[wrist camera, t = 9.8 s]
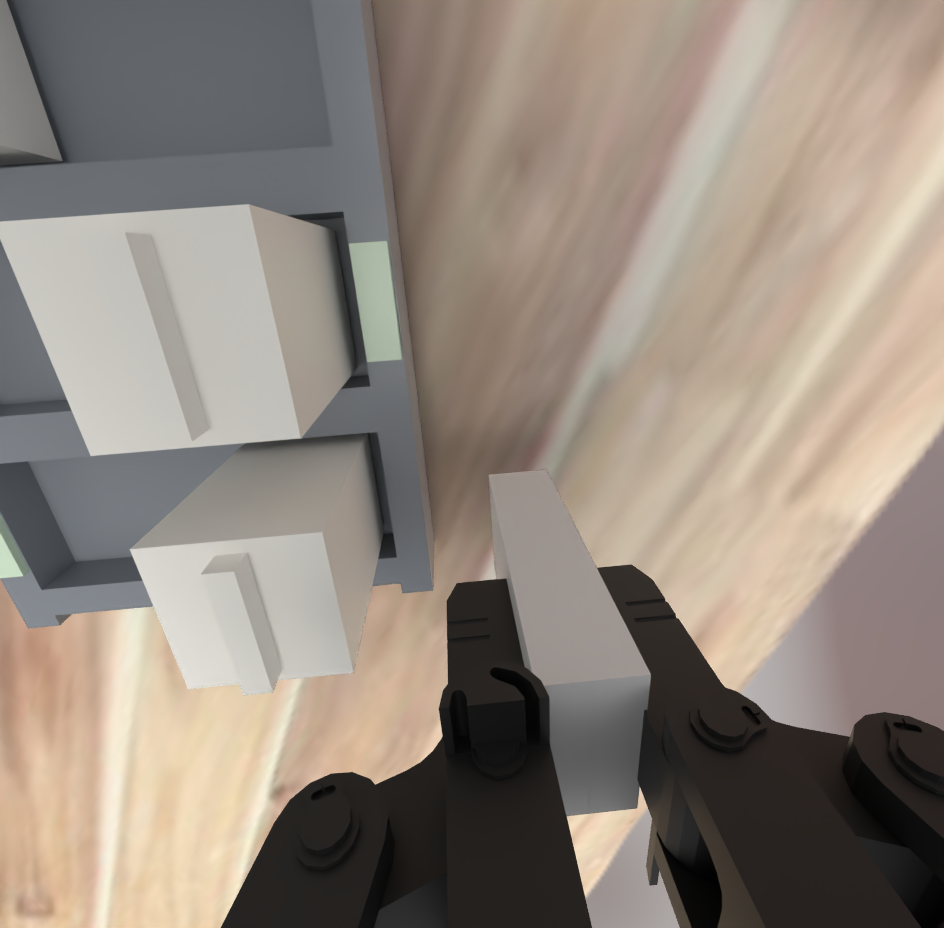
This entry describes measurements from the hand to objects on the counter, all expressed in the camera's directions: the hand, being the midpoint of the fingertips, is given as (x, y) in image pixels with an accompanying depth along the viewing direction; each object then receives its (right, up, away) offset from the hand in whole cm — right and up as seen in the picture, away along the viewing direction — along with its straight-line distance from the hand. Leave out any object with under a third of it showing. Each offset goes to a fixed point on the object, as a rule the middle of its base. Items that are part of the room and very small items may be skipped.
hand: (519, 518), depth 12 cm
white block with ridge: (-6, +6, +1) cm, 9 cm away
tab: (-6, +1, +3) cm, 7 cm away
